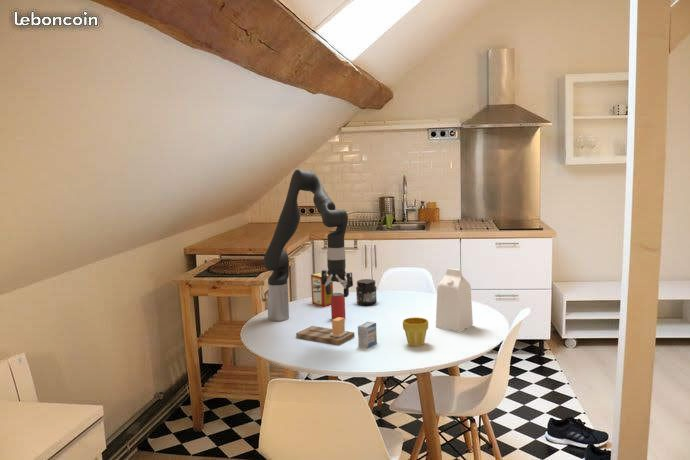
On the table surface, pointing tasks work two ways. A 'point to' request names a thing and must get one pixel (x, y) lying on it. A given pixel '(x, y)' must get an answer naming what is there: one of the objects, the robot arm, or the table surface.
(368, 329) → the medicine box
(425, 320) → the plant pot
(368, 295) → the supplement container
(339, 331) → the fader tab
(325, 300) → the baking soda box
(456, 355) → the table surface
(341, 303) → the beer can
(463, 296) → the milk
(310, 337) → the fader board
